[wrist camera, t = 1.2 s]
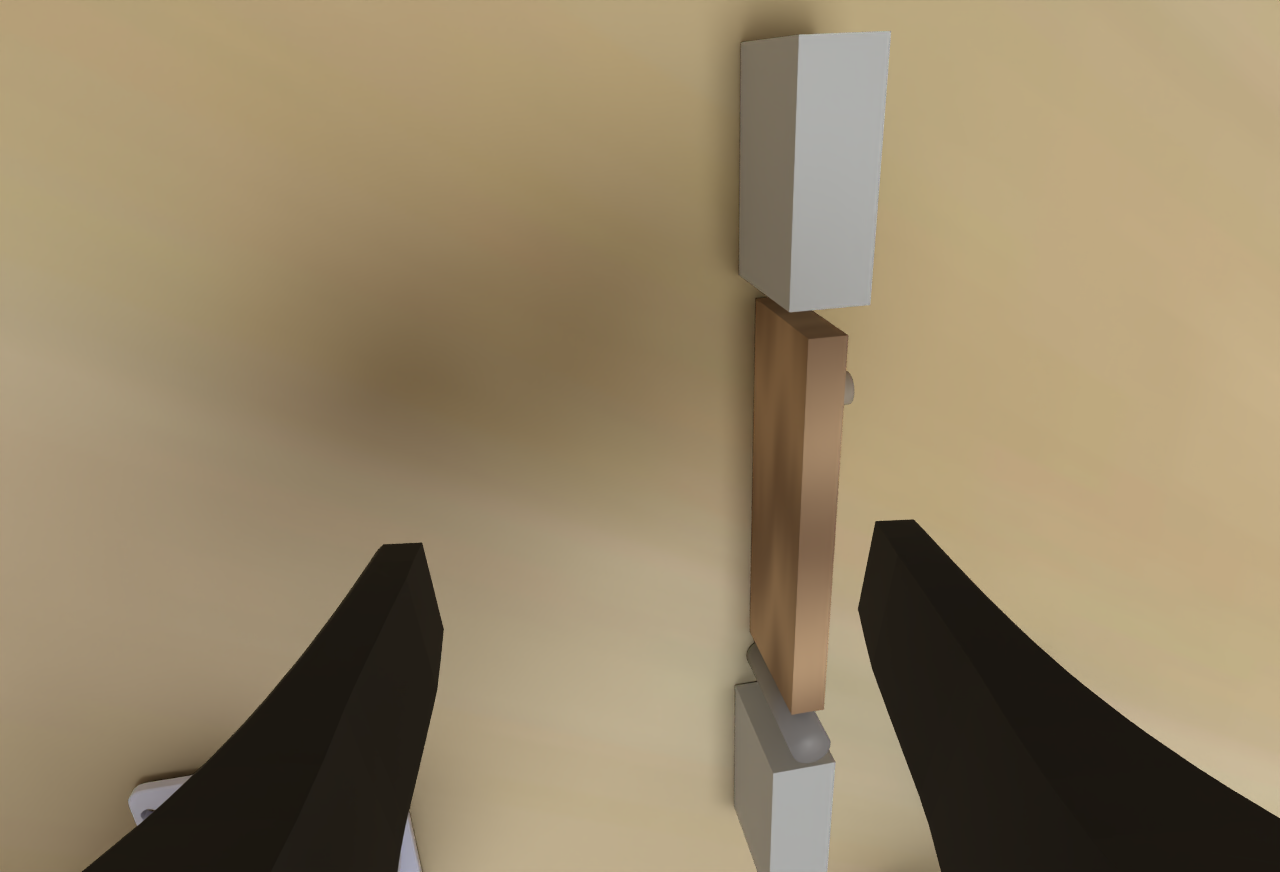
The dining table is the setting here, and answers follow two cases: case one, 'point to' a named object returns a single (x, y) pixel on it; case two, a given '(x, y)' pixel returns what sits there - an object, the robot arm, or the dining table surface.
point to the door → (795, 494)
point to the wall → (798, 281)
